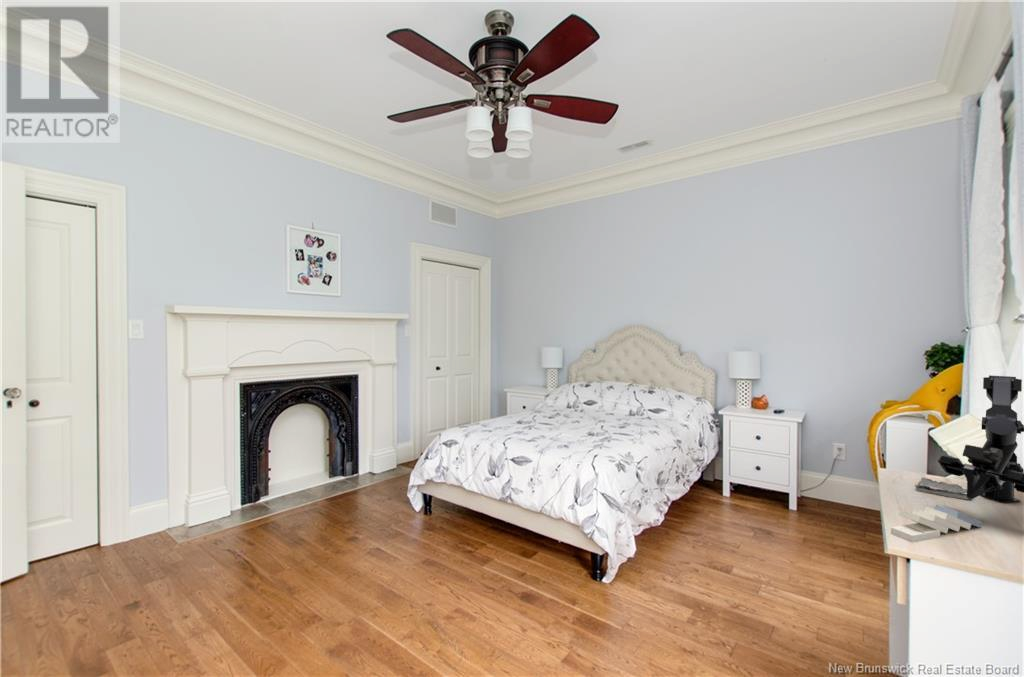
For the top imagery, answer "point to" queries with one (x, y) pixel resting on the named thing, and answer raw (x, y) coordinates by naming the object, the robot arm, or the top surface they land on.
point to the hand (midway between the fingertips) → (969, 497)
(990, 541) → the top surface
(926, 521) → the domino
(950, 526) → the domino
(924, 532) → the domino
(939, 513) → the domino
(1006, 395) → the robot arm
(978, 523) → the domino
